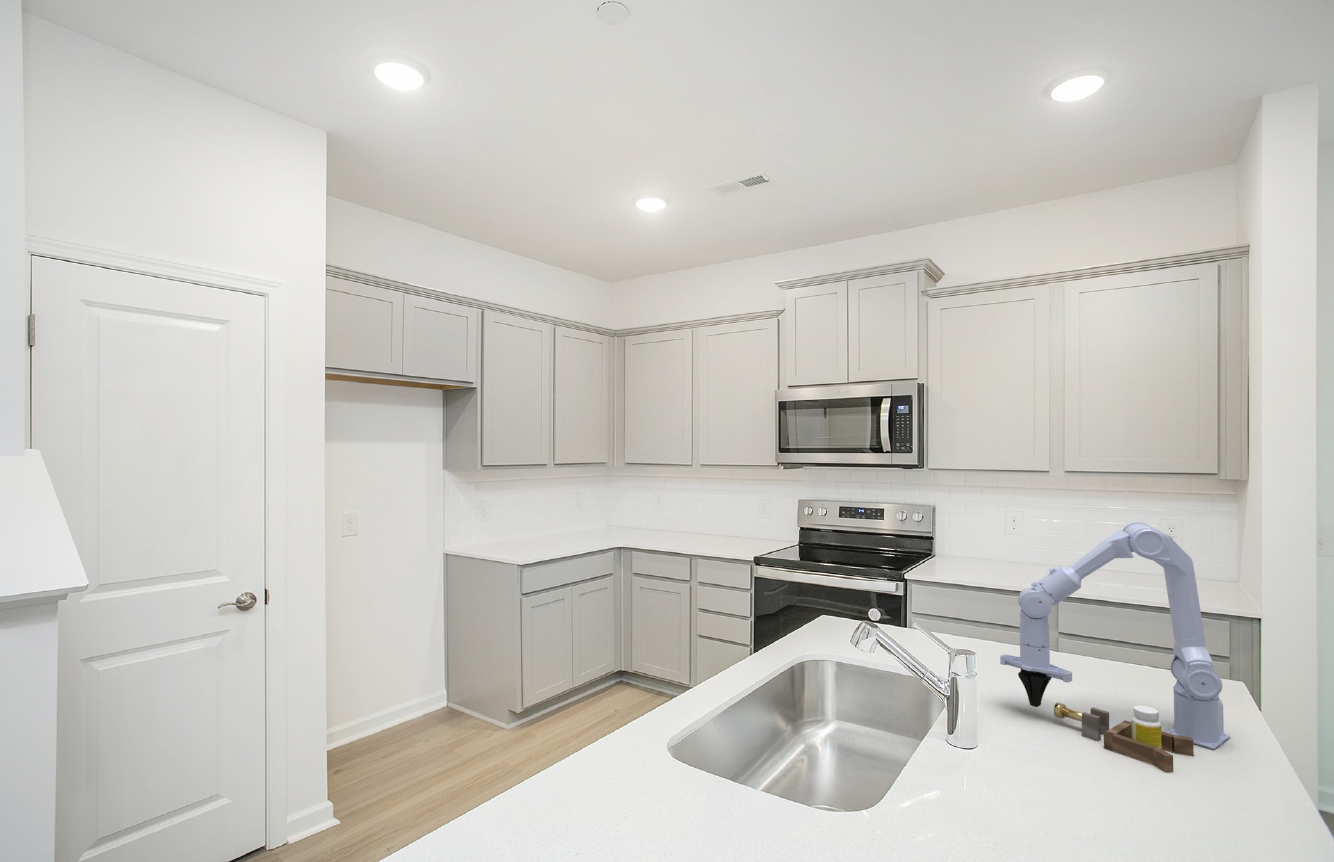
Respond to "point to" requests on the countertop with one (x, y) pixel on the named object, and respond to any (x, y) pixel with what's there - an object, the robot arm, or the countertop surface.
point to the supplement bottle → (1146, 726)
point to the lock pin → (1066, 712)
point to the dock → (1134, 741)
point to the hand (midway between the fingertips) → (1035, 705)
